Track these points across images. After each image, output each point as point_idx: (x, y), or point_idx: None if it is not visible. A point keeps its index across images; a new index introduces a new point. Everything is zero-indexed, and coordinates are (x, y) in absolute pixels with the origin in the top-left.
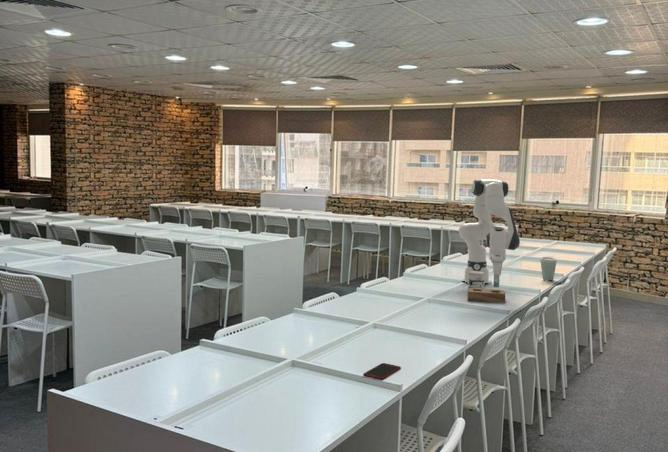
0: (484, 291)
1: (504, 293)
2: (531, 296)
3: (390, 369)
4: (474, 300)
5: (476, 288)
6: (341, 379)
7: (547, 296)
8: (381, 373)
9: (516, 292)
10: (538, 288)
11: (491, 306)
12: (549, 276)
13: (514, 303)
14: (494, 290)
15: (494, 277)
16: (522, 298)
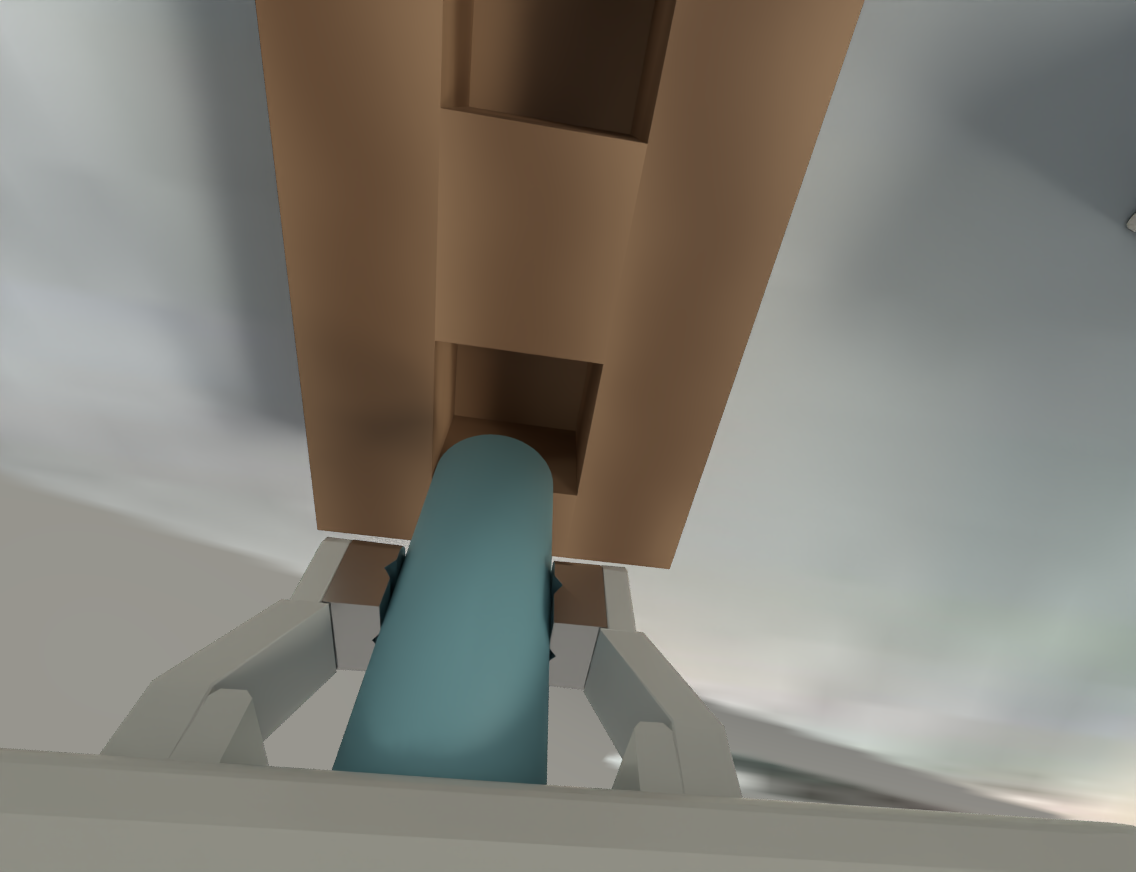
0: (433, 188)
1: (356, 523)
2: (768, 712)
3: None
4: None
5: (807, 10)
6: None
7: (763, 793)
8: None
9: (987, 642)
10: (1107, 798)
11: (26, 221)
12: None
13: (384, 538)
14: (594, 416)
15: (407, 617)
16: (670, 641)
